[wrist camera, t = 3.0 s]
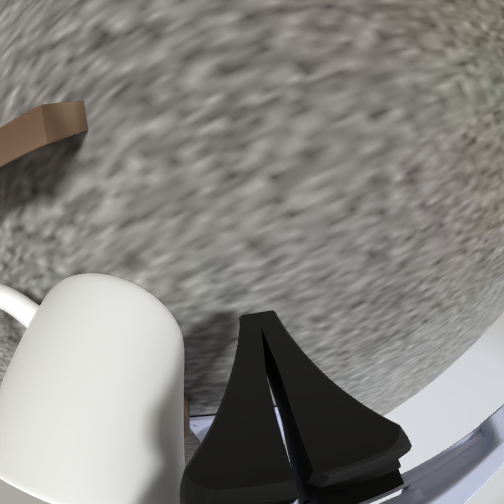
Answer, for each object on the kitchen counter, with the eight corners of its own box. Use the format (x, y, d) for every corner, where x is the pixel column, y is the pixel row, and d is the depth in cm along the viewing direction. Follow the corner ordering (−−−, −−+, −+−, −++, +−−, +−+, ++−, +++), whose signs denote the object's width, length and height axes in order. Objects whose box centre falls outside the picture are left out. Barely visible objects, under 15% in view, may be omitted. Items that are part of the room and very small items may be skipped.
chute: (189, 402, 17) (190, 437, 15) (21, 391, 16) (13, 415, 14) (83, 101, 7) (41, 105, 5) (-86, 209, 6) (-109, 229, 4)
